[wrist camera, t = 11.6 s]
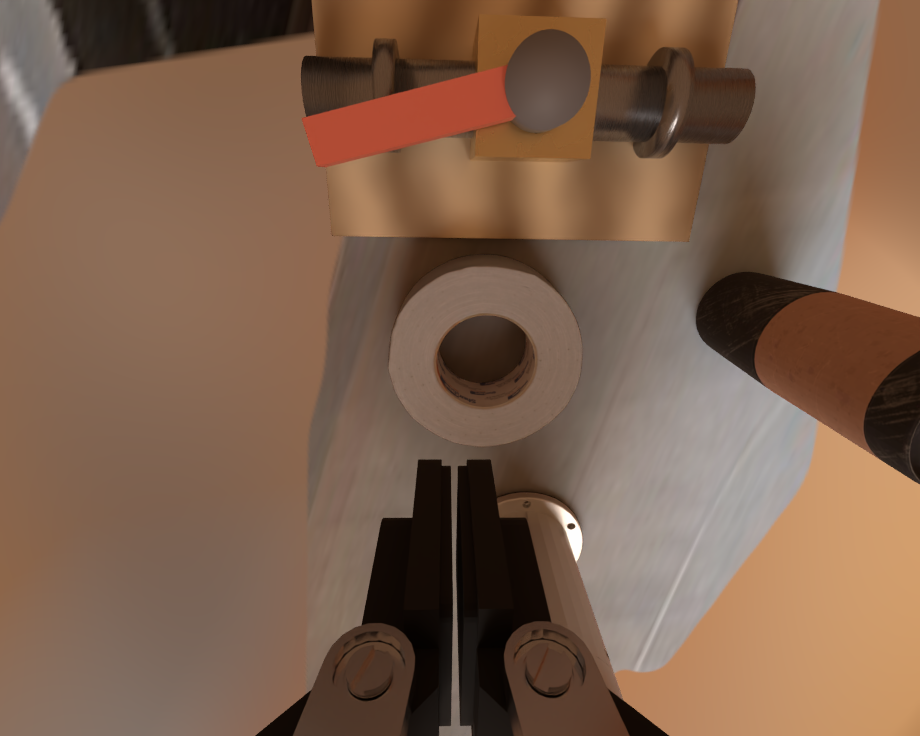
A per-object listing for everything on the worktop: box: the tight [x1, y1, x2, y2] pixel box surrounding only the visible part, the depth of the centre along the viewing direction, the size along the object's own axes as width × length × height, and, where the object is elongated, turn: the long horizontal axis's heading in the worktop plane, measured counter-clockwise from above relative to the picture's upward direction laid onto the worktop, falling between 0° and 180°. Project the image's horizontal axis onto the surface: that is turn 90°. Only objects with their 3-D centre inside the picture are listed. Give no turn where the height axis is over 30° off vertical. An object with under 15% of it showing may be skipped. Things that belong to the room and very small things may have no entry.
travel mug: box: [696, 272, 920, 484], centre depth 30 cm, size 8×8×20 cm
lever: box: [302, 29, 591, 167], centre depth 25 cm, size 15×4×3 cm, turn 103°
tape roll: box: [388, 254, 582, 447], centre depth 38 cm, size 15×15×5 cm
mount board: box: [312, 0, 738, 242], centre depth 33 cm, size 28×18×1 cm, turn 89°
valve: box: [301, 14, 756, 163], centre depth 30 cm, size 28×7×8 cm, turn 89°
